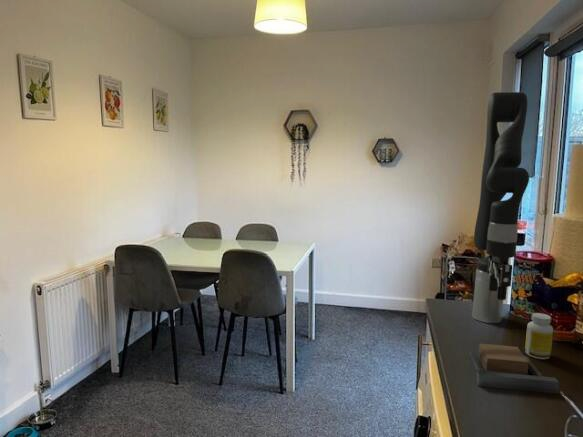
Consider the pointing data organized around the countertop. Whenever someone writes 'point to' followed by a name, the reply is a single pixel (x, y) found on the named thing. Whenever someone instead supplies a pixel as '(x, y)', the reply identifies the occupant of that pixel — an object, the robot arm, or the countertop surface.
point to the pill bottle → (539, 336)
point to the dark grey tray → (515, 379)
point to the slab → (503, 359)
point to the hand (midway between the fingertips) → (496, 294)
